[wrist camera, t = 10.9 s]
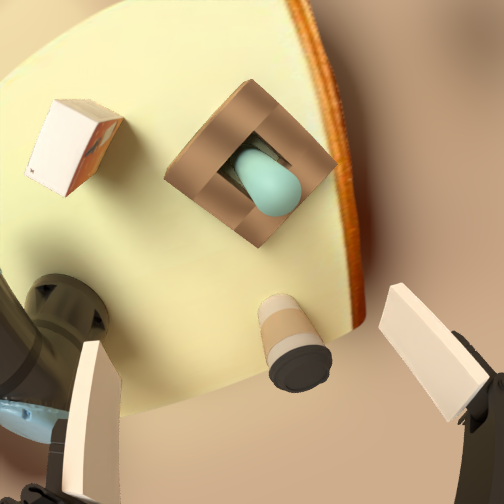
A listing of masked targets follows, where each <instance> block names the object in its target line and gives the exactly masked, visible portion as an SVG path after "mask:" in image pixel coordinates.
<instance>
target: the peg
mask: <svg viewBox="0 0 504 504" xmlns="http://www.w3.org/2000/svg"><path fill="white" fill-rule="evenodd" d="M231 166H232V168H233V169H234V171H235V172H236V174H237V176H238V177H239V179H240V180H241V182H242V184H243V185H244V187H245V188H246V190H247V192H248V193H249V195H250V196H251V198H252V200H253V201H254V203H255V205H256V206H257V208H258V209H259V210H260V211H261V212H262V213H264V214H266V215H268V216H273V217H278V216H283V215H286V214H288V213H289V212H291V211H292V210H293V209H294V208H295V207H296V206H297V204H298V203H299V201H300V198H301V185H300V182H299V180H298V179H297V177H296V176H295V175H294V174H292V173H291V172H290V171H288V170H287V169H286V168H284V167H283V166H282V165H280V164H279V163H278V162H276V161H275V160H274V159H272V158H271V157H269V156H268V155H267V154H265V153H264V152H262V151H261V150H260V149H258V148H257V147H255V146H253V145H250V144H244V145H241V146H239V147H238V148H237V149H236V150H235V152H234V153H233V154H232V155H231Z"/></svg>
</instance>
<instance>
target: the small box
mask: <svg viewBox="0 0 504 504" xmlns="http://www.w3.org/2000/svg"><path fill="white" fill-rule="evenodd" d="M123 119H124V117H122V116H121V115H119V114H117V113H115V112H113V111H111V110H110V109H108V108H106V107H104V106H102V105H100V104H98V103H96V102H94V101H92V100H90V99H55V100H53V102H52V105H51V107H50V110H49V112H48V114H47V117H46V119H45V121H44V124H43V126H42V128H41V131H40V133H39V136H38V138H37V141H36V143H35V146H34V149H33V151H32V154H31V157H30V159H29V162H28V165H27V167H26V170H25V172H24V175H26V176H28V177H29V178H31V179H33V180H34V181H36V182H38V183H40V184H41V185H43V186H45V187H47V188H49V189H50V190H52V191H54V192H56V193H58V194H59V195H61V196H63V197H67V196H68V195H69V194H70V193H71V192H73V191H74V190H75V189H76V188H77V187H79V186H80V185H81V184H82V183H83V182H85V181H86V180H87V179H89V178H90V177H91V176H92V175H94V174H95V173H96V171H97V169H98V167H99V164H100V162H101V160H102V158H103V156H104V154H105V152H106V150H107V148H108V146H109V144H110V142H111V140H112V139H113V137H114V135H115V133H116V131H117V129H118V128H119V126H120V124H121V122H122V121H123Z"/></svg>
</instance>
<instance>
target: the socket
mask: <svg viewBox="0 0 504 504" xmlns="http://www.w3.org/2000/svg"><path fill="white" fill-rule="evenodd" d="M251 133H253V134H255V135H256V136H257V137H258V138H259V139H260V140H261V141H262V142H264V143H265V144H266V145H267V146H268V147H269V148H270V149H271V150H272V151H273V152H275V153H276V154H277V155H278V156H279V157H280V158H279V159H278V160H277V161H276V162H278V163H279V164H280V165H282V166H283V167H284V168H286V169H287V170H288V171H290V172H291V173H292V174H294V175H295V176H296V177H297V179H298V180H299V182H300V185H301V198H300V201H299V203H298V204H297V206H296V207H295V208H294V209H293V210H292V211H291V212H289V213H288V214H286V215H283V216H278V217H273V216H268V215H266V214H264V213H262V212H261V211H260V210H259V209H258V208H257V206H256V205H255V203H254V201H253V200H252V198H251V196H250V195H249V193H248V192H247V190H246V189H244V188H243V187H242V186H241V185H240V184H238V183H237V182H236V181H235V180H233V179H232V178H231V177H230V176H228V175H227V174H226V173H225V172H224V171H222V170H221V169H220V167H221V166H222V165H223V164H224V163H225V162H226V161H227V159H228V158H229V157H230V156H231V155H232V154H233V153H234V152H235V150H236V149H237V148H238V147H239V146H240V145H241V144H242V143H243V142H244V141H245V139H246V138H247V137H248V136H249V135H250V134H251ZM337 165H338V164H337V163H336V162H335V161H334V160H333V158H332V157H331V156H330V155H329V154H328V153H327V152H326V151H325V150H324V149H323V147H322V146H321V145H320V144H319V143H318V142H317V141H316V140H315V139H314V138H313V137H312V136H311V135H310V134H309V133H308V132H307V131H306V130H305V129H304V128H303V127H302V126H301V124H300V123H299V122H298V121H297V120H296V119H295V118H294V117H292V116H291V115H290V114H289V113H288V112H287V111H286V110H285V109H284V108H283V107H282V106H281V105H280V104H279V103H278V102H277V101H276V100H275V99H274V98H273V97H272V96H271V95H269V94H268V93H267V92H266V91H265V90H264V89H263V88H262V87H261V86H260V85H258V84H257V83H256V82H255V81H254V80H253V79H250V80H248V81H245V82H243V83H242V84H241V85H240V86H239V87H238V88H237V89H236V90H235V91H234V92H233V93H232V94H231V95H230V97H229V98H228V99H227V100H226V101H225V102H224V103H223V104H222V105H221V106H220V107H219V108H218V109H217V110H216V112H215V113H214V114H213V115H212V116H211V117H210V118H209V119H208V120H207V122H206V123H205V124H204V125H203V126H202V127H201V128H200V129H199V131H198V132H197V133H196V134H195V135H194V136H193V138H192V139H191V140H190V141H189V142H188V144H187V145H186V146H185V147H184V148H183V150H182V151H181V152H180V153H179V155H178V156H177V157H176V158H175V159H174V161H173V162H172V163H171V164H170V166H169V167H168V168H167V171H166V173H165V176H164V180H166V181H167V182H168V183H170V184H171V185H172V186H174V187H175V188H177V189H178V190H179V191H181V192H182V193H183V194H185V195H186V196H187V197H189V198H190V199H192V200H193V201H194V202H196V203H197V204H198V205H200V206H201V207H202V208H204V209H205V210H207V211H208V212H209V213H211V214H212V215H213V216H215V217H216V218H217V219H219V220H220V221H221V222H223V223H224V224H226V225H227V226H228V227H230V228H231V229H232V230H234V231H235V232H236V233H238V234H239V235H240V236H242V237H243V238H245V239H246V240H247V241H249V242H250V243H251V244H253V245H254V246H255V247H257V248H259V247H260V246H261V245H262V244H263V243H264V242H265V241H266V240H267V239H268V238H269V237H270V236H271V235H272V234H273V232H274V231H275V230H276V229H277V228H278V227H279V226H280V225H281V224H282V223H283V222H284V221H285V220H286V219H287V218H288V217H289V216H290V214H291V213H292V212H293V211H294V210H295V209H296V208H297V207H298V206H299V205H300V204H301V203H302V202H303V201H304V200H305V199H306V198H307V196H308V195H309V194H310V193H311V192H312V191H313V190H314V189H315V188H316V187H317V186H318V185H319V184H320V183H321V182H322V181H323V180H324V178H325V177H326V176H327V175H328V174H329V173H330V172H331V171H332V170H333V169H334V168H335V167H336V166H337Z"/></svg>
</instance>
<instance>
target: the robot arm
mask: <svg viewBox="0 0 504 504" xmlns="http://www.w3.org/2000/svg"><path fill="white" fill-rule="evenodd" d="M108 324H109V318H108V313H107V310H106V308H105V306H104V304H103V302H102V301H101V299H100V298H99V296H98V295H97V294H96V293H95V292H94V291H93V290H92V289H91V288H89V287H88V286H87V285H86V284H84V283H82V282H81V281H79V280H77V279H75V278H73V277H70V276H67V275H62V274H49V275H45V276H42V277H41V278H39V279H38V280H36V281H35V283H34V284H33V285H32V287H31V289H30V290H29V292H28V294H27V297H26V301H25V308H24V309H23V307H22V306H21V304H20V303H19V301H18V300H17V298H16V296H15V295H14V293H13V292H12V290H11V289H10V287H9V285H8V284H7V282H6V280H5V279H4V277H3V275H2V271H1V269H0V425H2V426H3V427H5V428H7V429H8V430H10V431H12V432H14V433H16V434H18V435H20V436H23V437H25V438H28V439H31V440H34V441H37V442H41V443H46V444H50V447H49V452H50V453H49V456H48V465H47V476H46V488H43V487H42V486H40V485H38V484H33V483H31V484H28V485H26V486H25V487H24V488H23V489H22V492H21V501H19V502H18V501H16V500H14V499H12V498H10V497H4V498H3V499H1V501H0V504H121V501H120V484H119V418H120V399H121V385H122V380H121V378H120V376H119V375H118V373H117V371H116V369H115V368H114V366H113V364H112V362H111V361H110V359H109V357H108V355H107V353H106V352H105V350H104V348H103V346H102V343H103V341H104V339H105V337H106V333H107V329H108ZM378 328H379V329H380V330H381V332H382V333H383V334H384V336H385V337H386V338H387V340H388V341H389V342H390V343H391V345H392V346H393V347H394V349H395V350H396V351H397V353H398V354H399V355H400V356H401V358H402V359H403V361H404V362H405V363H406V364H407V366H408V367H409V368H410V370H411V371H412V373H413V374H414V375H415V377H416V378H417V380H418V381H419V382H420V384H421V385H422V386H423V388H424V389H425V391H426V392H427V393H428V395H429V396H430V398H431V399H432V400H433V402H434V403H435V405H436V406H437V407H438V409H439V410H440V412H441V413H442V415H443V416H444V417H445V419H446V421H447V422H449V421H451V420H452V419H454V418H455V417H456V416H458V415H459V414H460V413H461V412H462V411H463V410H464V408H465V407H466V408H467V411H466V413H464V415H463V416H462V417H461V418H460V419H459V421H458V425H459V424H461V423H462V422H463V421H464V419H465V421H464V423H463V424H462V425H465V432H464V445H463V455H462V463H461V469H460V476H459V482H458V487H457V493H456V497H455V502H454V504H504V373H498V374H497V373H496V372H495V371H494V370H493V369H492V368H491V367H490V366H489V365H488V364H487V362H486V361H485V360H484V359H483V358H482V357H481V355H480V354H479V353H478V352H477V351H475V349H474V348H473V346H472V345H470V344H469V342H468V341H467V340H466V339H465V338H464V337H463V336H462V335H460V334H459V333H457V332H456V331H452V332H450V331H449V330H448V329H447V328H446V327H445V326H444V325H443V323H442V322H441V321H440V320H439V319H438V318H437V317H436V316H435V315H434V314H433V313H432V312H431V311H430V310H429V309H428V308H427V307H426V306H425V305H424V304H423V303H422V302H421V301H420V300H419V299H418V298H417V297H416V296H415V295H414V294H413V293H412V292H411V291H410V290H409V289H408V288H407V287H406V286H405V285H404V284H403V283H399V284H395V285H392V286H390V289H389V293H388V296H387V300H386V304H385V307H384V311H383V314H382V317H381V321H380V324H379V327H378Z"/></svg>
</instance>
